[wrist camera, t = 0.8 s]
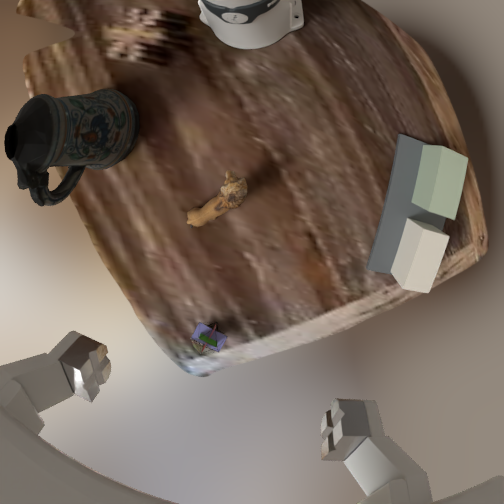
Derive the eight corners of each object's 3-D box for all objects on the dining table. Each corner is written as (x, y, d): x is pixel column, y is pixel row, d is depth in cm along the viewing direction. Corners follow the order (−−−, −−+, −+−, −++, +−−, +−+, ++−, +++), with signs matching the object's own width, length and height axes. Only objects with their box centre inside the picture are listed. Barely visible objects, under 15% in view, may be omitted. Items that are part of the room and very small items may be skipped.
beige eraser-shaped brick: (407, 217, 44) (423, 228, 38) (431, 224, 44) (449, 236, 37) (390, 271, 48) (402, 288, 42) (414, 276, 48) (428, 293, 42)
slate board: (398, 133, 40) (400, 133, 39) (456, 157, 39) (459, 157, 38) (365, 267, 50) (367, 269, 49) (422, 278, 49) (424, 280, 48)
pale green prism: (423, 144, 39) (442, 145, 32) (447, 155, 39) (468, 158, 32) (411, 202, 43) (428, 211, 37) (436, 210, 43) (454, 219, 36)
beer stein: (129, 76, 41) (37, 51, 18) (158, 160, 47) (64, 178, 24) (73, 117, 45) (-17, 121, 22) (97, 193, 51) (8, 228, 28)
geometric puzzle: (205, 310, 55) (187, 344, 51) (234, 325, 55) (218, 360, 51) (200, 317, 61) (185, 347, 57) (227, 331, 62) (212, 361, 58)
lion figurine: (239, 163, 46) (229, 167, 37) (260, 186, 47) (254, 194, 39) (182, 216, 51) (163, 231, 42) (201, 237, 52) (185, 255, 43)
